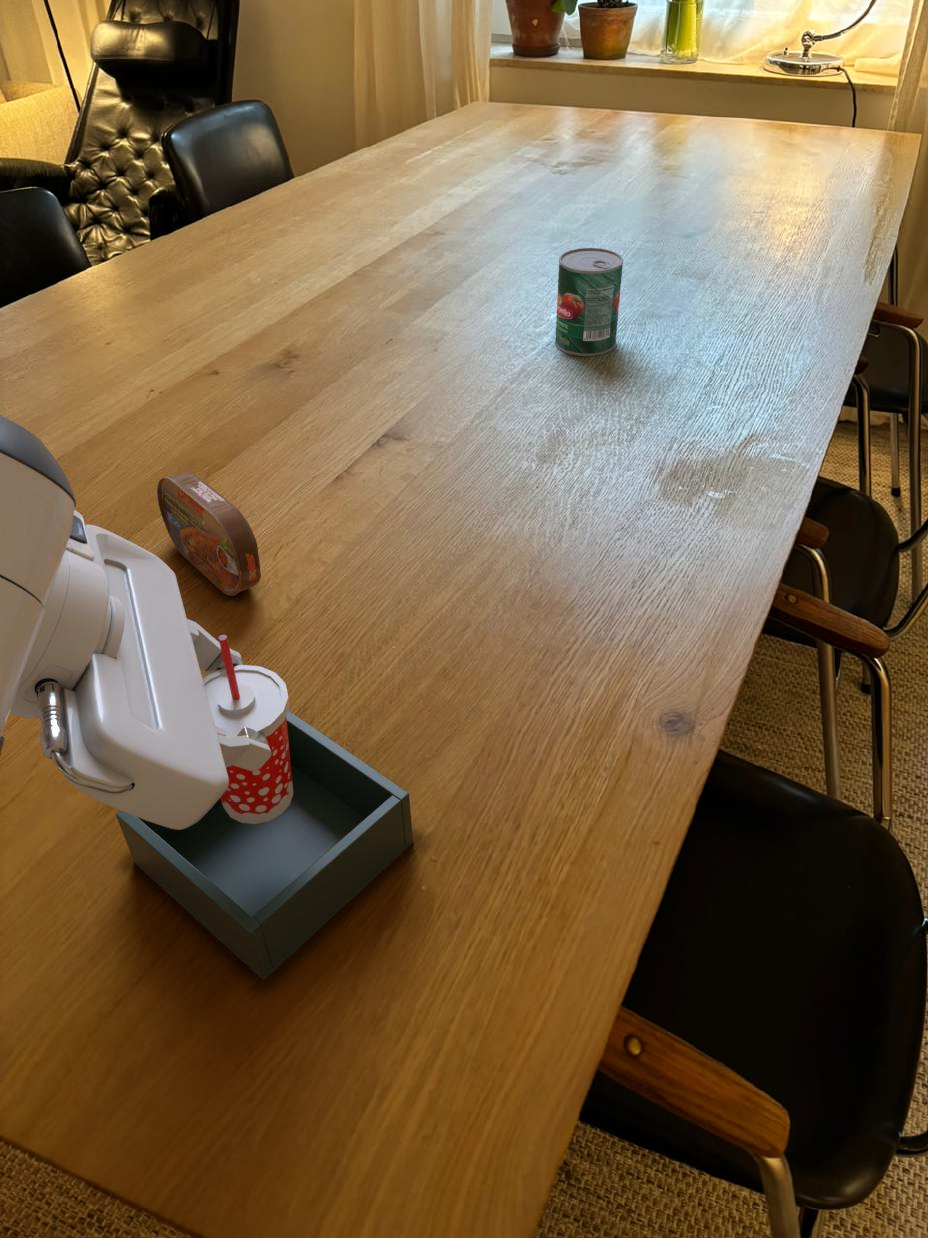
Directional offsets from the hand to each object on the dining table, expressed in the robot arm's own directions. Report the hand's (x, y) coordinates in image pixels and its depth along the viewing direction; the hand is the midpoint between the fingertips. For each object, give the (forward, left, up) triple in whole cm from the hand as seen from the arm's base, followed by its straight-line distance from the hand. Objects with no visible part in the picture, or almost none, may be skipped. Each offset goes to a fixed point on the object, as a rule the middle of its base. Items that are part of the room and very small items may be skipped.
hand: (249, 710), depth 60 cm
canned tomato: (+78, +30, -14) cm, 85 cm away
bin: (-1, 0, -13) cm, 13 cm away
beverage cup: (-1, 0, -8) cm, 8 cm away
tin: (+17, +29, -14) cm, 36 cm away
